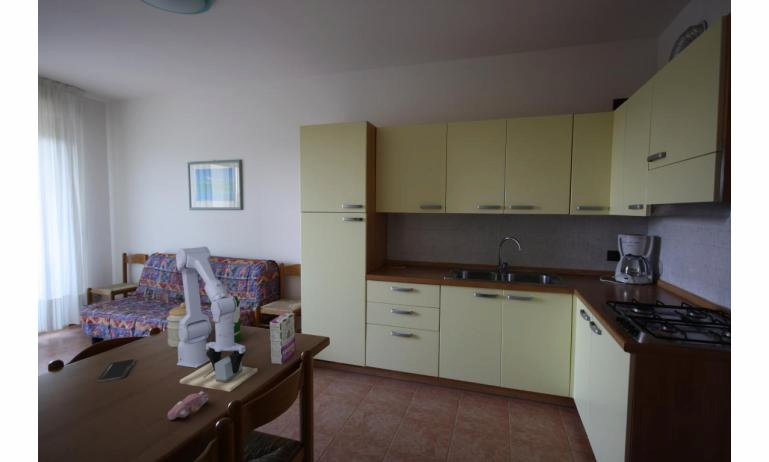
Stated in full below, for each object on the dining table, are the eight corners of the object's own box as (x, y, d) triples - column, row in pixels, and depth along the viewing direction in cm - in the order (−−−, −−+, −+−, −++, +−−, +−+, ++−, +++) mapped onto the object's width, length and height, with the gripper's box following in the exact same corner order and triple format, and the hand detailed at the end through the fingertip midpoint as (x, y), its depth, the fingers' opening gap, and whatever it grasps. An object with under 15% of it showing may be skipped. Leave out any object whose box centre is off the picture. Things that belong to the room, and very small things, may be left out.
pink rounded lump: (172, 429, 91) (178, 410, 89) (164, 417, 93) (169, 398, 91) (207, 410, 100) (213, 393, 98) (199, 400, 101) (205, 382, 100)
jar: (191, 348, 141) (189, 306, 140) (160, 347, 141) (158, 306, 140) (207, 336, 154) (206, 298, 153) (179, 336, 154) (178, 298, 153)
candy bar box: (284, 351, 137) (283, 312, 136) (295, 352, 136) (295, 313, 135) (270, 363, 126) (268, 321, 125) (282, 365, 125) (281, 322, 124)
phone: (96, 381, 112) (110, 362, 126) (96, 384, 113) (111, 365, 126) (125, 376, 116) (136, 358, 129) (125, 379, 116) (136, 361, 129)
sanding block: (216, 381, 111) (214, 363, 111) (232, 370, 119) (231, 353, 119) (226, 382, 110) (224, 364, 110) (242, 371, 118) (240, 354, 118)
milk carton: (233, 346, 142) (231, 300, 141) (213, 345, 144) (211, 299, 142) (244, 338, 151) (243, 295, 150) (225, 337, 152) (224, 294, 151)
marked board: (179, 383, 112) (179, 380, 112) (211, 364, 126) (211, 361, 126) (229, 391, 107) (229, 388, 107) (257, 371, 120) (257, 368, 120)
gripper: (198, 334, 113) (199, 374, 114) (234, 338, 109) (236, 379, 110) (213, 327, 120) (215, 364, 120) (248, 331, 116) (250, 369, 117)
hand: (226, 371), depth 116 cm, fingers open, 7 cm apart
